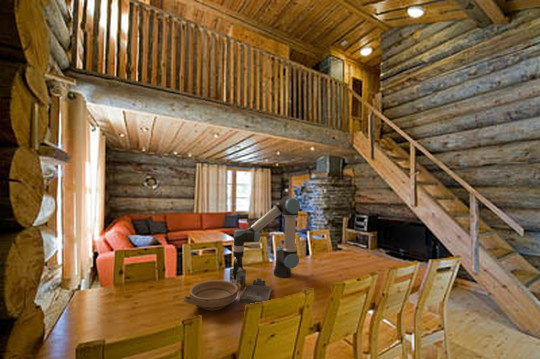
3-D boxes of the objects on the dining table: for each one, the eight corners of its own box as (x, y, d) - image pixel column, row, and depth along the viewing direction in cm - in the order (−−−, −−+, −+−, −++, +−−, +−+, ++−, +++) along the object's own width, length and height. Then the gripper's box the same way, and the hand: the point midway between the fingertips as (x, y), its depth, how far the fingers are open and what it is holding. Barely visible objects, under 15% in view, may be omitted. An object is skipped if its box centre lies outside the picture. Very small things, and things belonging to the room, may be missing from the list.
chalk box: (245, 286, 178) (246, 265, 179) (234, 288, 174) (234, 267, 174) (240, 282, 186) (240, 262, 187) (229, 284, 181) (229, 264, 182)
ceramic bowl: (192, 326, 125) (193, 306, 125) (174, 305, 147) (175, 288, 147) (252, 306, 148) (252, 289, 149) (228, 290, 170) (229, 275, 171)
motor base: (247, 287, 176) (247, 275, 177) (272, 289, 174) (272, 277, 174) (239, 301, 154) (239, 288, 154) (267, 304, 151) (268, 290, 152)
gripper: (237, 246, 194) (236, 274, 193) (228, 254, 169) (227, 286, 168) (247, 247, 193) (246, 275, 192) (239, 255, 168) (238, 287, 167)
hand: (237, 280), depth 180 cm, fingers closed on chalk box, 12 cm apart
